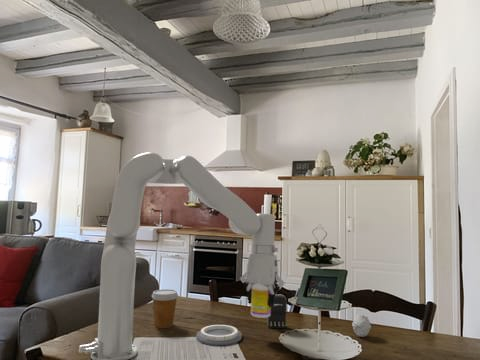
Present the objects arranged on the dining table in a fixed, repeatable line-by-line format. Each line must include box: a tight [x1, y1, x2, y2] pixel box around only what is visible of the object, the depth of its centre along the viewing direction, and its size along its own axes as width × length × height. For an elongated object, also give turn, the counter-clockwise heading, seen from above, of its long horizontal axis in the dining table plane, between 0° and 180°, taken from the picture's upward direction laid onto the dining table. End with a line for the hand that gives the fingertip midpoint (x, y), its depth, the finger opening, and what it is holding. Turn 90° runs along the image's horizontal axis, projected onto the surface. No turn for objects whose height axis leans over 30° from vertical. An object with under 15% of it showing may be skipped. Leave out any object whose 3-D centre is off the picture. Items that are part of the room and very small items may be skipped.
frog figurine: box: [351, 313, 372, 338], centre depth 121 cm, size 6×7×7 cm
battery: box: [267, 294, 288, 329], centre depth 129 cm, size 7×4×11 cm, turn 89°
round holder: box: [196, 324, 243, 347], centre depth 117 cm, size 15×15×2 cm
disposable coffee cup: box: [151, 288, 179, 329], centre depth 129 cm, size 10×10×12 cm
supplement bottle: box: [250, 279, 271, 319], centre depth 118 cm, size 7×7×13 cm
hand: (261, 303), depth 118 cm, fingers closed on supplement bottle, 6 cm apart
